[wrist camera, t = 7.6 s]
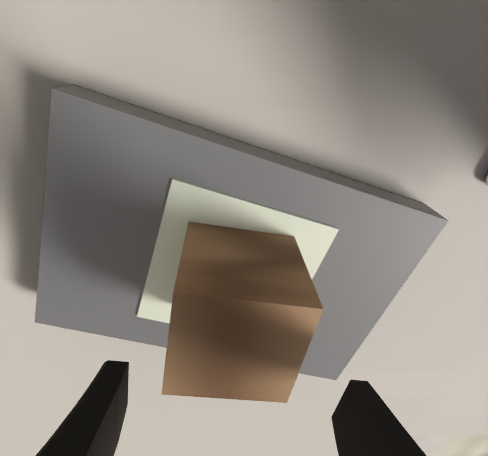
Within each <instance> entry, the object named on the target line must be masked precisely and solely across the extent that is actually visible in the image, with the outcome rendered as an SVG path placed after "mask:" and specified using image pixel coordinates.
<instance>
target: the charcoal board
mask: <svg viewBox="0 0 488 456" xmlns="http://www.w3.org/2000/svg"><path fill="white" fill-rule="evenodd" d="M188 221H189V222H196V223H203V224H210V225H217V226H224V227H231V228H238V229H245V230H252V231H259V232H266V233H273V234H280V235H288V236H294V237H295V240H296V242H297V245H298V247H299V249H300V252H301V254H302V257H303V259H304V262H305V264H306V267H307V269H308V272H309V274H310V277H311V279H312V282H313V284H314V287H315V289H316V292H317V294H318V297H319V299H320V302H321V304H322V306H323V312H322V315H321V317H320V320H319V322H318V325H317V327H316V330H315V332H314V335H313V337H312V340H311V342H310V345H309V347H308V350H307V353H306V355H305V358H304V360H303V363H302V365H301V368H300V370H299V373H302V374H307V375H312V376H317V377H322V378H328V379H333V380H337V378H338V377H339V375H340V374H341V372H342V371H343V370H344V368H345V367H346V365H347V364H348V362H349V361H350V360H351V358H352V357H353V355H354V354H355V353H356V351H357V350H358V348H359V347H360V345H361V344H362V343H363V341H364V340H365V338H366V337H367V335H368V334H369V333H370V331H371V330H372V328H373V327H374V326H375V324H376V323H377V321H378V320H379V318H380V317H381V316H382V314H383V313H384V311H385V310H386V308H387V307H388V306H389V304H390V303H391V301H392V300H393V299H394V297H395V296H396V294H397V293H398V291H399V290H400V289H401V287H402V286H403V284H404V283H405V281H406V280H407V279H408V277H409V276H410V274H411V273H412V272H413V270H414V269H415V267H416V266H417V264H418V263H419V262H420V260H421V259H422V257H423V256H424V255H425V253H426V252H427V250H428V249H429V247H430V246H431V245H432V243H433V242H434V240H435V239H436V237H437V236H438V235H439V233H440V232H441V230H442V229H443V228H444V226H445V225H446V223H447V222H448V220H447V219H445V218H444V217H442V216H441V215H440V214H438V213H437V212H435V211H434V210H433V209H431V208H430V207H428V206H427V205H426V204H423V203H420V202H417V201H414V200H411V199H408V198H406V197H403V196H400V195H397V194H394V193H391V192H388V191H385V190H382V189H379V188H376V187H373V186H370V185H367V184H364V183H361V182H358V181H356V180H353V179H350V178H347V177H344V176H341V175H338V174H335V173H332V172H329V171H326V170H323V169H320V168H317V167H314V166H311V165H308V164H306V163H303V162H300V161H297V160H294V159H291V158H288V157H285V156H282V155H279V154H276V153H273V152H270V151H267V150H264V149H261V148H258V147H256V146H253V145H250V144H247V143H244V142H241V141H238V140H235V139H232V138H229V137H226V136H223V135H220V134H217V133H214V132H211V131H208V130H206V129H203V128H200V127H197V126H194V125H191V124H188V123H185V122H182V121H179V120H176V119H173V118H170V117H167V116H164V115H161V114H158V113H156V112H153V111H150V110H147V109H144V108H141V107H138V106H135V105H132V104H129V103H126V102H123V101H120V100H117V99H114V98H111V97H108V96H106V95H103V94H100V93H97V92H94V91H91V90H88V89H85V88H82V87H79V86H76V85H69V86H63V87H57V88H51V102H50V116H49V130H48V144H47V159H46V173H45V187H44V201H43V215H42V230H41V244H40V258H39V272H38V286H37V301H36V315H35V322H36V323H41V324H47V325H52V326H57V327H62V328H67V329H73V330H78V331H83V332H88V333H93V334H99V335H104V336H109V337H114V338H119V339H125V340H130V341H135V342H140V343H145V344H151V345H156V346H161V347H166V348H167V342H168V333H169V324H170V315H171V306H172V297H173V290H174V286H175V281H176V277H177V272H178V267H179V263H180V258H181V254H182V249H183V244H184V240H185V235H186V230H187V226H188Z"/></svg>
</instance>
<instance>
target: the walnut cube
mask: <svg viewBox="0 0 488 456" xmlns="http://www.w3.org/2000/svg"><path fill="white" fill-rule="evenodd" d="M322 312H323V306H322V304H321V302H320V299H319V297H318V294H317V292H316V289H315V287H314V284H313V282H312V279H311V277H310V274H309V272H308V269H307V267H306V264H305V262H304V259H303V257H302V254H301V252H300V249H299V247H298V245H297V242H296V240H295V237H294V236H288V235H280V234H273V233H266V232H259V231H252V230H245V229H238V228H231V227H224V226H217V225H210V224H203V223H196V222H189V221H188V226H187V230H186V235H185V240H184V244H183V249H182V254H181V258H180V263H179V267H178V272H177V277H176V281H175V286H174V290H173V297H172V306H171V315H170V324H169V333H168V342H167V351H166V360H165V369H164V378H163V387H162V394H164V395H179V396H194V397H209V398H224V399H239V400H254V401H269V402H284V403H287V401H288V398H289V396H290V393H291V391H292V388H293V385H294V383H295V380H296V378H297V375H298V373H299V370H300V368H301V365H302V363H303V360H304V358H305V355H306V353H307V350H308V347H309V345H310V342H311V340H312V337H313V335H314V332H315V330H316V327H317V325H318V322H319V320H320V317H321V315H322Z"/></svg>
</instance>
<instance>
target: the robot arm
mask: <svg viewBox="0 0 488 456" xmlns="http://www.w3.org/2000/svg"><path fill="white" fill-rule="evenodd" d="M486 183H487V185H488V175H487V177H486ZM128 370H129V362H121V361H109V360H108V361H106V362H105V363H104V364H103V365H102V367H101V369H100V370H99V372H98V374H97V375H96V377H95V378H94V380H93V381H92V383H91V384H90V386H89V387H88V388H87V390H86V391H85V393H84V394H83V396H82V397H81V398H80V400H79V401H78V403H77V404H76V405H75V407H74V408H73V409H72V411H71V412H70V413H69V415H68V416H67V417H66V418H65V420H64V421H63V422H62V424H61V425H60V426H59V428H58V429H57V430H56V431H55V433H54V434H53V435H52V437H51V438H50V439H49V440H48V442H47V443H46V444H45V445H44V446H43V448H42V449H41V450H40V451H39V452H38V454H37V455H36V456H114V453H115V450H116V447H117V444H118V441H119V437H120V433H121V429H122V425H123V421H124V417H125V413H126V408H127V404H128ZM332 423H333V428H334V434H335V440H336V445H337V450H338V454H339V456H426V455H425V453H424V452H423V451H422V450H421V449H420V447H419V446H418V445H417V444H416V442H415V441H414V440H413V439H412V437H411V436H410V435H409V434H408V432H407V431H406V430H405V429H404V427H403V426H402V425H401V423H400V422H399V421H398V420H397V418H396V417H395V416H394V415H393V413H392V412H391V411H390V409H389V408H388V407H387V405H386V404H385V403H384V402H383V400H382V399H381V398H380V396H379V395H378V394H377V393H376V391H375V390H374V389H373V387H372V386H371V385H370V384H369V382H368V381H359V380H350V382H349V384H348V386H347V388H346V390H345V392H344V394H343V396H342V398H341V400H340V401H339V403H338V405H337V407H336V409H335V411H334V413H333V415H332Z"/></svg>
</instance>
